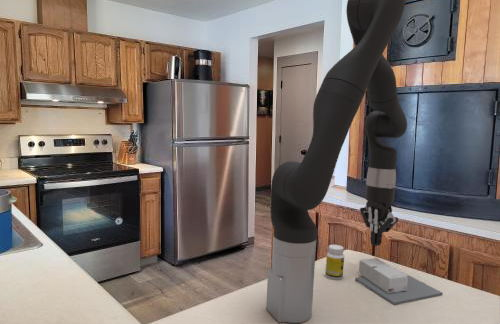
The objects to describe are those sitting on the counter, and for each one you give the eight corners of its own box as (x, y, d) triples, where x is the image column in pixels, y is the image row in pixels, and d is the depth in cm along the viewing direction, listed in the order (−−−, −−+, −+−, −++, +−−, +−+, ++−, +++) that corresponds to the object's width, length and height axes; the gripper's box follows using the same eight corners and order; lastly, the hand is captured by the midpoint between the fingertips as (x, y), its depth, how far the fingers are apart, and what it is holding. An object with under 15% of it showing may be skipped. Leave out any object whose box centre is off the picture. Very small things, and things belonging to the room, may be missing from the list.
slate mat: (394, 305, 85) (394, 302, 85) (355, 280, 98) (355, 278, 98) (442, 295, 91) (442, 292, 91) (399, 272, 104) (400, 270, 104)
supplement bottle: (343, 281, 97) (345, 250, 96) (325, 278, 98) (327, 248, 97) (342, 273, 102) (344, 244, 101) (325, 271, 103) (327, 243, 102)
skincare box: (376, 257, 102) (409, 273, 91) (375, 272, 102) (408, 290, 91) (358, 259, 100) (389, 276, 89) (357, 275, 100) (388, 294, 89)
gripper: (354, 180, 104) (349, 238, 106) (387, 189, 92) (382, 254, 94) (374, 179, 107) (369, 236, 109) (409, 188, 95) (403, 251, 97)
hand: (375, 244), depth 102 cm, fingers closed
